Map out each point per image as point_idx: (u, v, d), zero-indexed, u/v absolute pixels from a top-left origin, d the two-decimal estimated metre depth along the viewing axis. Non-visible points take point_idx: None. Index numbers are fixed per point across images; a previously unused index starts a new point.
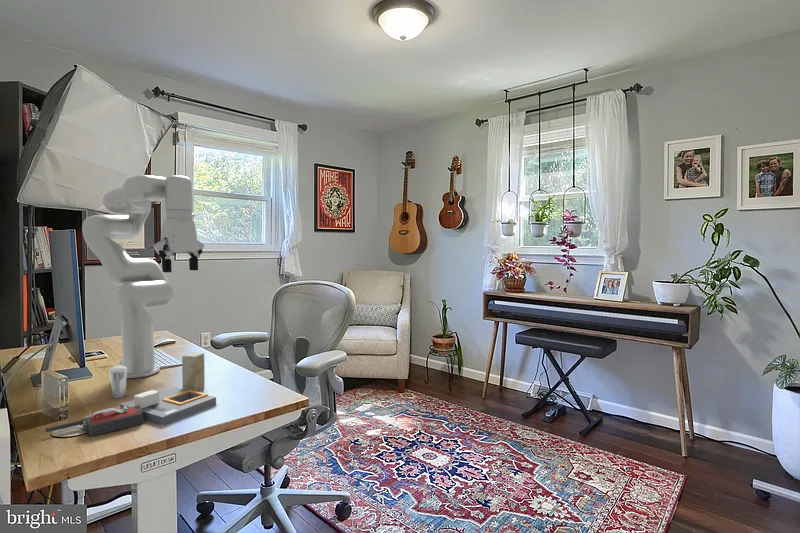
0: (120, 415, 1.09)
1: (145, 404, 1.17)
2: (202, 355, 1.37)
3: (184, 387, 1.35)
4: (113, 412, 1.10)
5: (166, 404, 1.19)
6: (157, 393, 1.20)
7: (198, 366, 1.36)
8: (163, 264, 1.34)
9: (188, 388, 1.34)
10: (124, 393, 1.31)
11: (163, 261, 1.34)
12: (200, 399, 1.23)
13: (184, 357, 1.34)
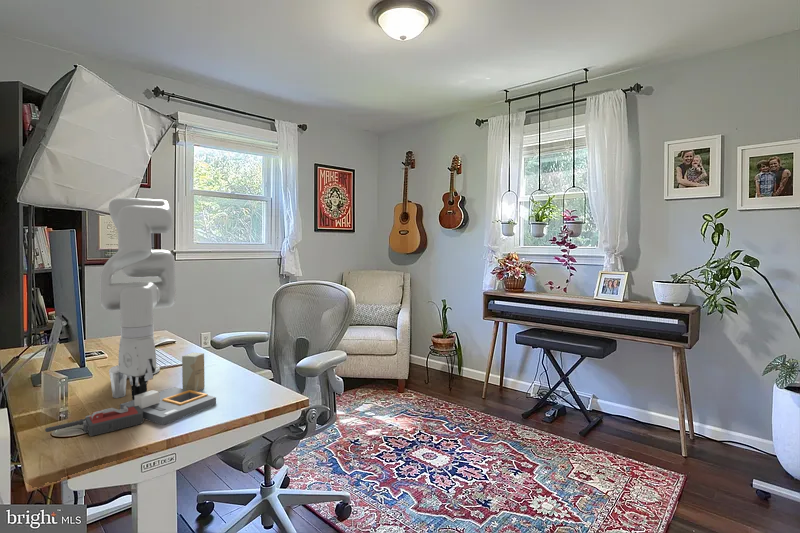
0: (120, 415, 1.09)
1: (145, 404, 1.17)
2: (202, 355, 1.37)
3: (184, 387, 1.35)
4: (113, 412, 1.10)
5: (166, 404, 1.19)
6: (158, 393, 1.20)
7: (198, 366, 1.36)
8: (141, 391, 1.19)
9: (188, 388, 1.34)
10: (124, 393, 1.31)
11: (141, 388, 1.19)
12: (200, 399, 1.23)
13: (184, 357, 1.34)
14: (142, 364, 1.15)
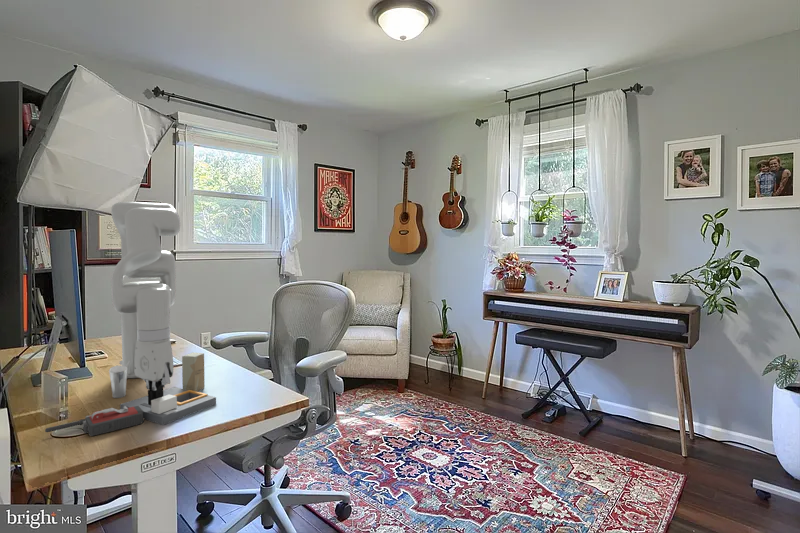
0: (120, 415, 1.09)
1: (163, 409, 1.13)
2: (202, 355, 1.37)
3: (184, 387, 1.35)
4: (113, 412, 1.10)
5: None
6: (175, 398, 1.16)
7: (198, 366, 1.36)
8: (158, 395, 1.16)
9: (188, 388, 1.34)
10: (124, 393, 1.31)
11: (158, 392, 1.16)
12: (200, 399, 1.23)
13: (184, 357, 1.34)
14: (159, 368, 1.12)
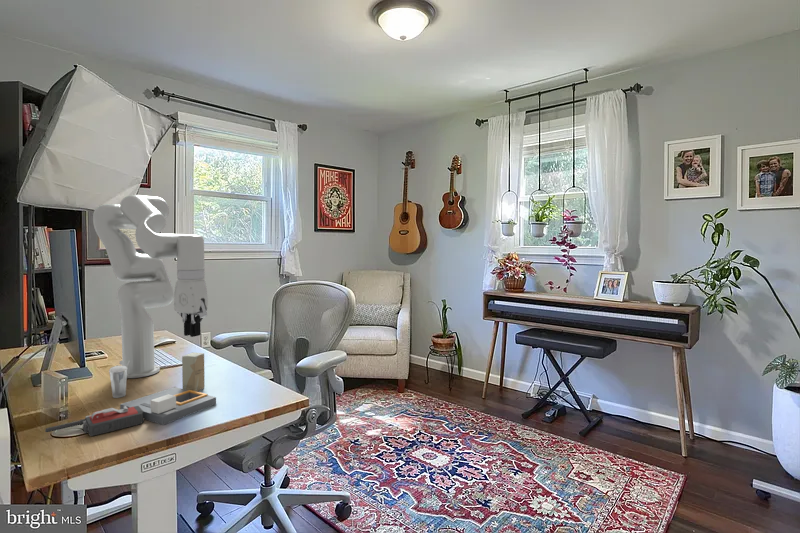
0: (120, 415, 1.09)
1: (162, 409, 1.13)
2: (202, 355, 1.37)
3: (184, 387, 1.35)
4: (113, 412, 1.10)
5: None
6: (174, 398, 1.16)
7: (198, 366, 1.36)
8: (196, 328, 1.34)
9: (188, 388, 1.34)
10: (124, 393, 1.31)
11: (196, 325, 1.34)
12: (200, 399, 1.23)
13: (184, 357, 1.34)
14: (197, 302, 1.31)
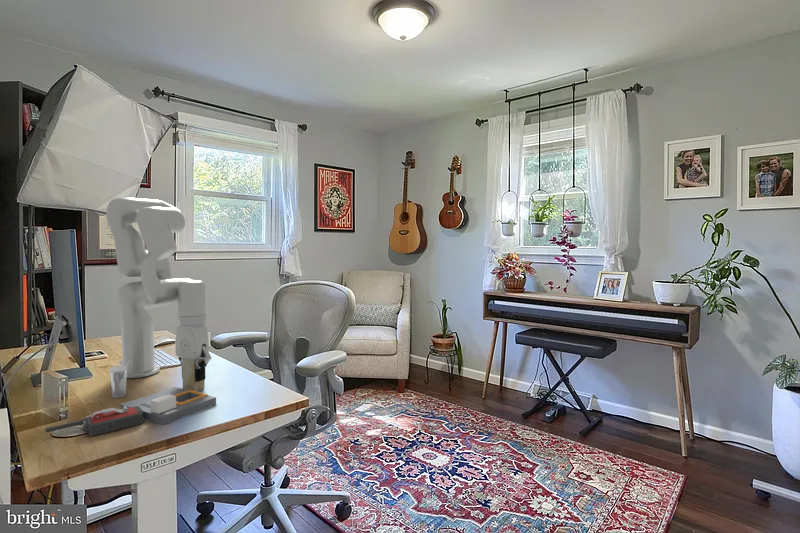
0: (120, 415, 1.09)
1: (162, 409, 1.13)
2: None
3: (184, 387, 1.35)
4: (113, 412, 1.10)
5: None
6: (174, 398, 1.16)
7: None
8: (201, 373, 1.35)
9: (188, 388, 1.34)
10: (124, 393, 1.31)
11: (201, 370, 1.35)
12: (200, 399, 1.23)
13: None
14: (198, 348, 1.32)
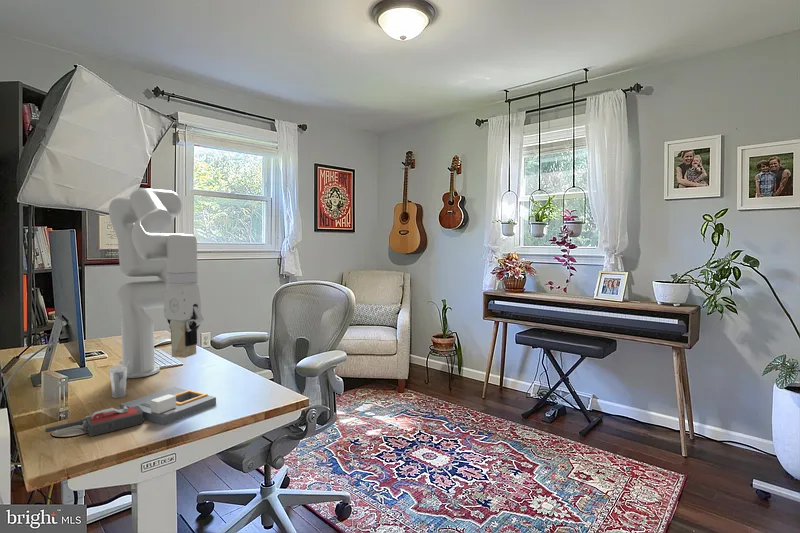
0: (120, 415, 1.09)
1: (162, 409, 1.13)
2: None
3: (173, 352, 1.21)
4: (113, 412, 1.10)
5: None
6: (174, 398, 1.16)
7: None
8: (193, 337, 1.21)
9: (178, 353, 1.21)
10: (124, 393, 1.31)
11: (193, 333, 1.21)
12: (200, 399, 1.23)
13: None
14: (189, 308, 1.19)
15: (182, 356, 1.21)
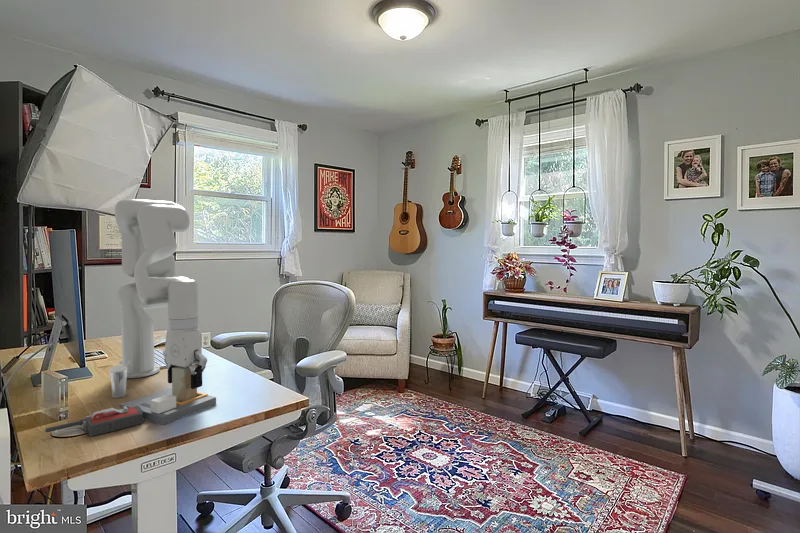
0: (120, 415, 1.09)
1: (162, 409, 1.13)
2: (194, 367, 1.25)
3: None
4: (113, 412, 1.10)
5: None
6: (174, 398, 1.16)
7: (190, 379, 1.23)
8: (198, 379, 1.21)
9: None
10: (124, 393, 1.31)
11: (198, 376, 1.21)
12: (200, 399, 1.23)
13: (174, 369, 1.22)
14: (189, 355, 1.19)
15: None
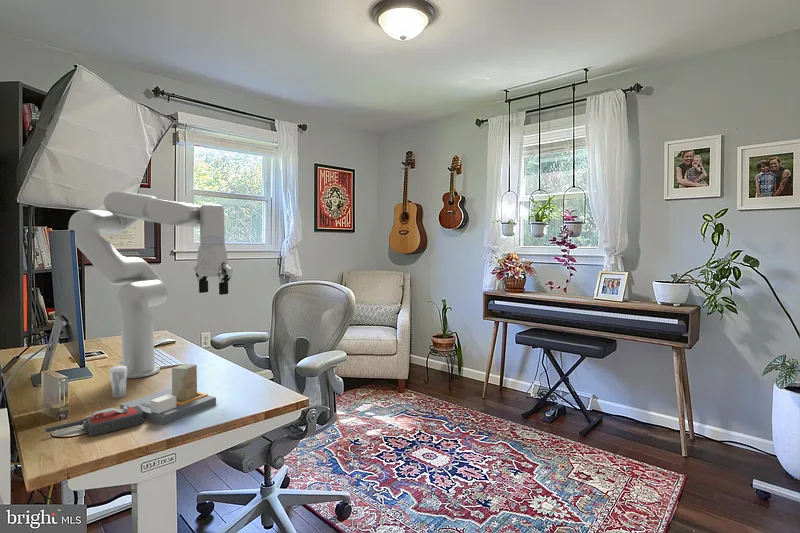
0: (120, 415, 1.09)
1: (162, 409, 1.13)
2: (194, 367, 1.25)
3: None
4: (113, 412, 1.10)
5: None
6: (174, 398, 1.16)
7: (190, 379, 1.23)
8: (225, 287, 1.45)
9: None
10: (124, 393, 1.31)
11: (225, 284, 1.45)
12: (200, 399, 1.23)
13: (174, 369, 1.22)
14: (218, 265, 1.43)
15: None
